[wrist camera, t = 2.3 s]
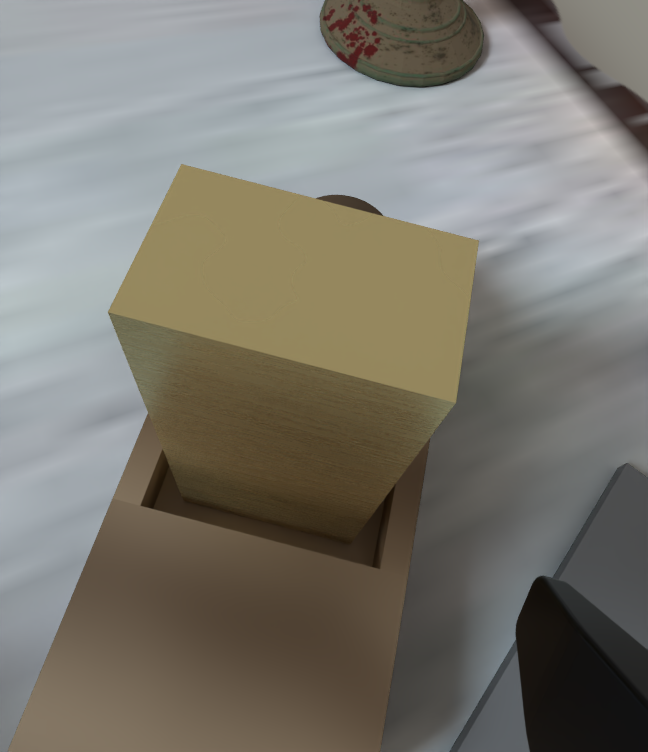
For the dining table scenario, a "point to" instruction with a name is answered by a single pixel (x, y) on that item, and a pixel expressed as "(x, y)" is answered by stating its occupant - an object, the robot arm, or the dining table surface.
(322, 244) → the tan wood-grain block
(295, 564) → the body
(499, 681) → the rubber mat
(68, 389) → the dining table surface
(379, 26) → the candlestick holder
